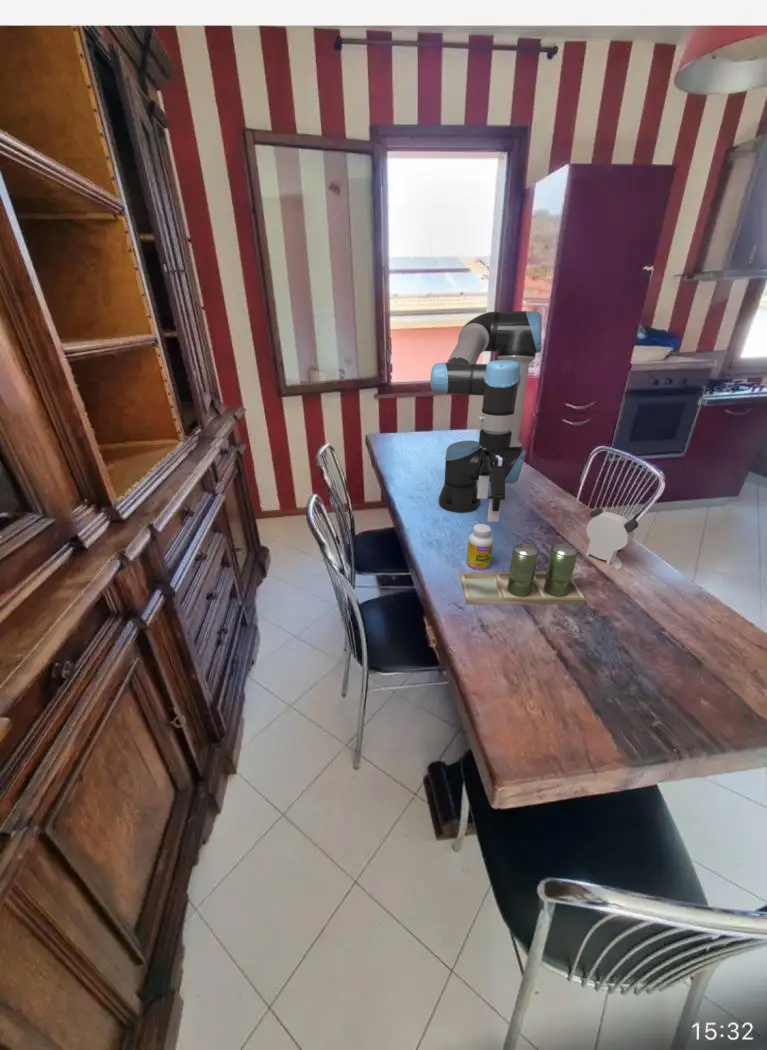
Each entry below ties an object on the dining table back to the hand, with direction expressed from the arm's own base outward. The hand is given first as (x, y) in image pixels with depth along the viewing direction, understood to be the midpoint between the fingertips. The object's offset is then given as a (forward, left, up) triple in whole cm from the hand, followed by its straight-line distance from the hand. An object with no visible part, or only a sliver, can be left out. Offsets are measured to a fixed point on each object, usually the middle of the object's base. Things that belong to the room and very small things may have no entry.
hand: (487, 509), depth 111 cm
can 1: (+12, +8, -18) cm, 23 cm away
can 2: (+12, +17, -18) cm, 27 cm away
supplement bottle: (0, -1, -19) cm, 19 cm away
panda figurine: (-3, +35, -19) cm, 40 cm away
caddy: (+12, +8, -19) cm, 23 cm away
